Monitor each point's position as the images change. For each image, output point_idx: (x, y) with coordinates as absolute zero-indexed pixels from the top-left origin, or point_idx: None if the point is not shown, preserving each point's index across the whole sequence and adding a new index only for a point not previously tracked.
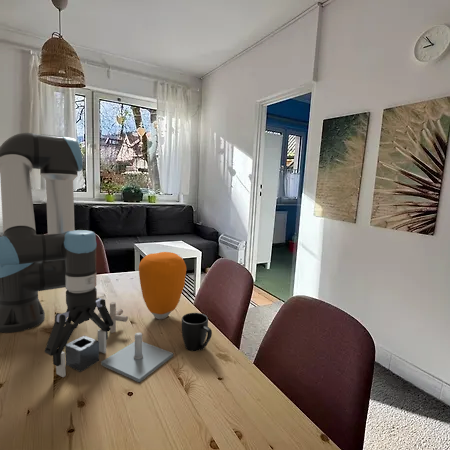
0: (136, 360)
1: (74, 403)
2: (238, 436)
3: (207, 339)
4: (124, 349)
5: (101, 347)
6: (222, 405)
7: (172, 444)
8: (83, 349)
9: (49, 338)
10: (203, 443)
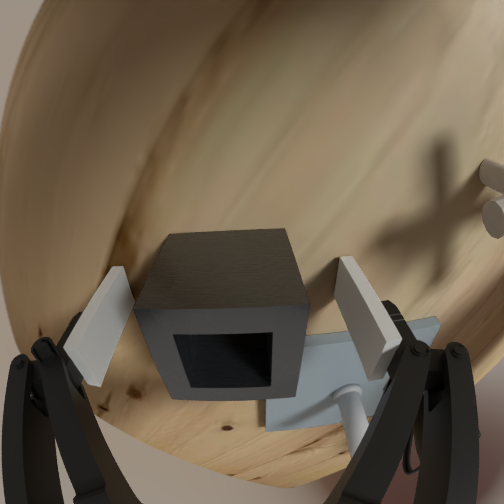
0: (329, 398)
1: (122, 384)
2: (253, 478)
3: (403, 458)
4: None
5: (343, 296)
6: (287, 468)
7: (199, 465)
8: (192, 399)
9: (5, 419)
10: (223, 473)
